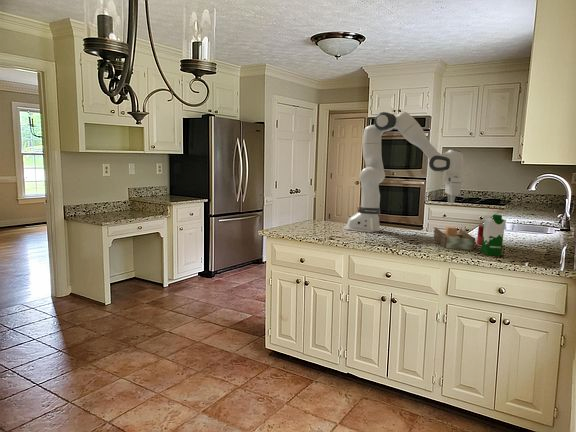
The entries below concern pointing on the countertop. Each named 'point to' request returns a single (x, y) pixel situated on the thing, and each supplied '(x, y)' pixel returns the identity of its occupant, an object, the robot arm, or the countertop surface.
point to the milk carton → (493, 235)
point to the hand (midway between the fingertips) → (450, 202)
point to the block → (451, 230)
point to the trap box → (455, 240)
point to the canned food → (480, 234)
